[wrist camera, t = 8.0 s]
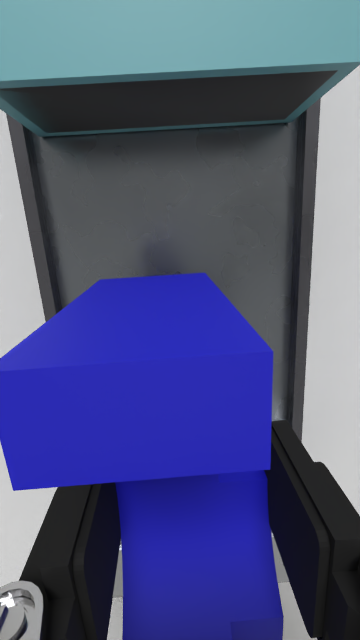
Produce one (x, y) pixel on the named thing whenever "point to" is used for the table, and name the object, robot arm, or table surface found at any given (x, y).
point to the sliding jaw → (170, 62)
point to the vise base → (183, 226)
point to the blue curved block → (158, 446)
